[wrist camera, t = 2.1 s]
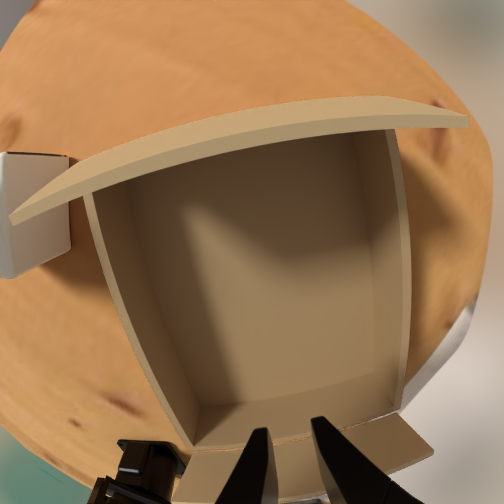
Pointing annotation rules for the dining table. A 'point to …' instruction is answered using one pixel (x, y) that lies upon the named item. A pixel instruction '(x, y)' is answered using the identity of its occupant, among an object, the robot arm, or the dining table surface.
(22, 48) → the dining table surface
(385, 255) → the carton
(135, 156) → the flap near
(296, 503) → the phone
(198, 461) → the flap far
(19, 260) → the medicine bottle
